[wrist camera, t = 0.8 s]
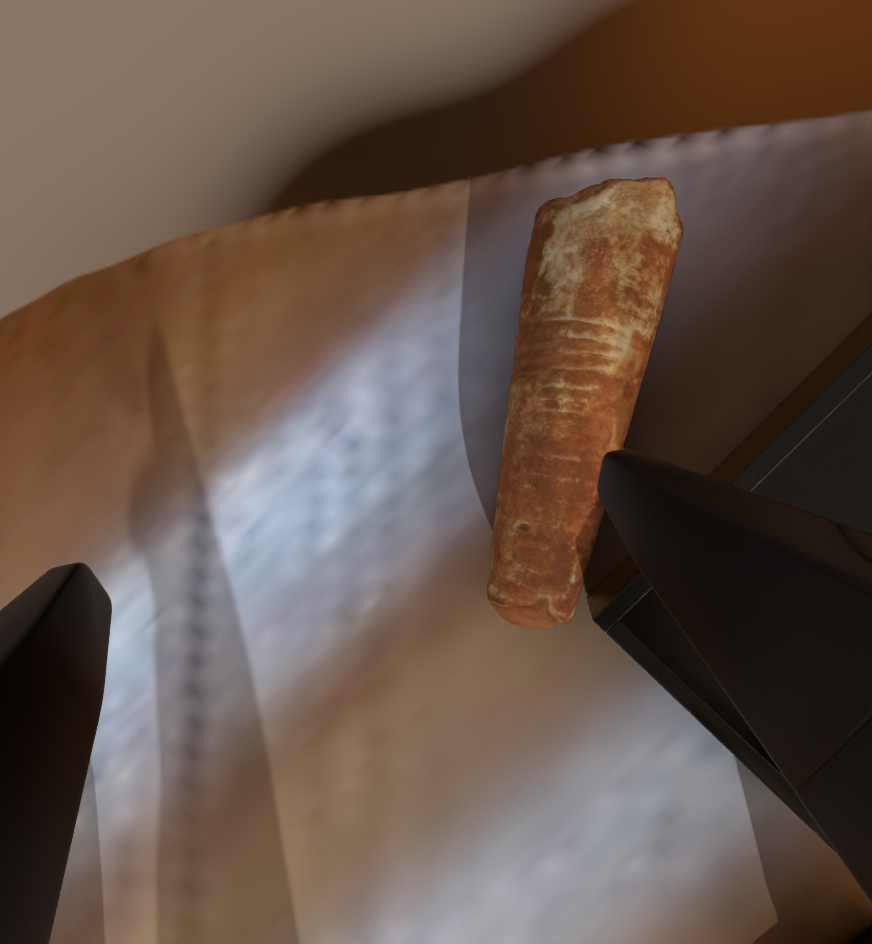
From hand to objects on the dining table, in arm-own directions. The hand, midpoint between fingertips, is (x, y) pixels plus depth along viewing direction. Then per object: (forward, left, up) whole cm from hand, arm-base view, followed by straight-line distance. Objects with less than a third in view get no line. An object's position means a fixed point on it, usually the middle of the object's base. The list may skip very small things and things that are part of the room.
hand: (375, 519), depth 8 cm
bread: (0, -6, -17) cm, 18 cm away
